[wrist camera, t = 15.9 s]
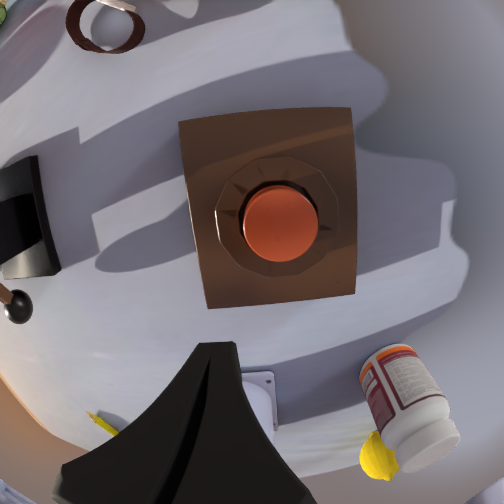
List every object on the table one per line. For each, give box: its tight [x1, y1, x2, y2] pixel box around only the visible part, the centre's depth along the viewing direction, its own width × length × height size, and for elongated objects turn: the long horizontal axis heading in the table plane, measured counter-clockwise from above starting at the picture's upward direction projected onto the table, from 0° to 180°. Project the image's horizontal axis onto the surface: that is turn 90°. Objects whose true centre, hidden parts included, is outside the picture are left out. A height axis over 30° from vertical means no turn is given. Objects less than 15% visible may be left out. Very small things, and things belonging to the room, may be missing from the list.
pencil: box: [87, 412, 120, 436], centre depth 28 cm, size 16×1×1 cm
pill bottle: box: [359, 344, 460, 473], centre depth 18 cm, size 6×6×11 cm
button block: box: [178, 107, 357, 309], centre depth 17 cm, size 12×10×4 cm
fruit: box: [360, 431, 400, 481], centre depth 24 cm, size 6×6×8 cm
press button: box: [243, 185, 318, 262], centre depth 14 cm, size 4×4×2 cm
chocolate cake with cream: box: [66, 0, 145, 54], centre depth 12 cm, size 8×5×4 cm, turn 49°
